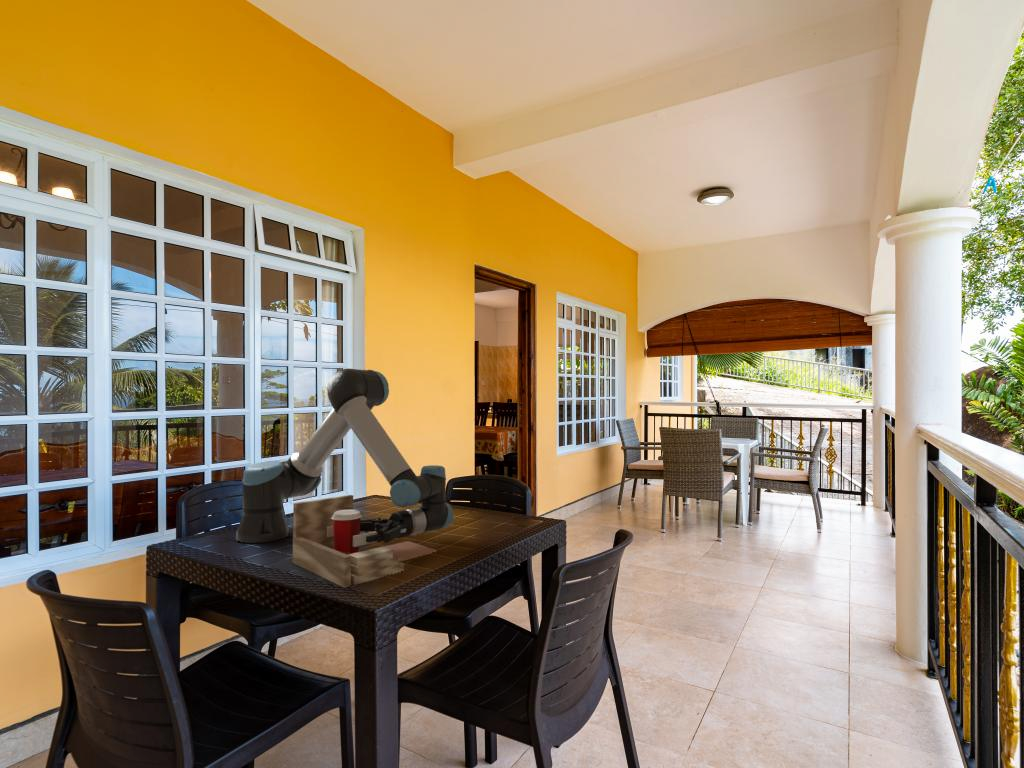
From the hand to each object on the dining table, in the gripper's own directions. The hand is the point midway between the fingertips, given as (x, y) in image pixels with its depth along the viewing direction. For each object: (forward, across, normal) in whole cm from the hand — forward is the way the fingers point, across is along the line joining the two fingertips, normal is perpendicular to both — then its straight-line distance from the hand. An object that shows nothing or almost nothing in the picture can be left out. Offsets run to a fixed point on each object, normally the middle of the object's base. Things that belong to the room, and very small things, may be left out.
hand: (339, 536), depth 143 cm
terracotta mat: (-19, -1, -8) cm, 21 cm away
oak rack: (-1, -1, -8) cm, 8 cm away
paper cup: (-2, 0, -8) cm, 8 cm away
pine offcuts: (-2, -13, -8) cm, 15 cm away
